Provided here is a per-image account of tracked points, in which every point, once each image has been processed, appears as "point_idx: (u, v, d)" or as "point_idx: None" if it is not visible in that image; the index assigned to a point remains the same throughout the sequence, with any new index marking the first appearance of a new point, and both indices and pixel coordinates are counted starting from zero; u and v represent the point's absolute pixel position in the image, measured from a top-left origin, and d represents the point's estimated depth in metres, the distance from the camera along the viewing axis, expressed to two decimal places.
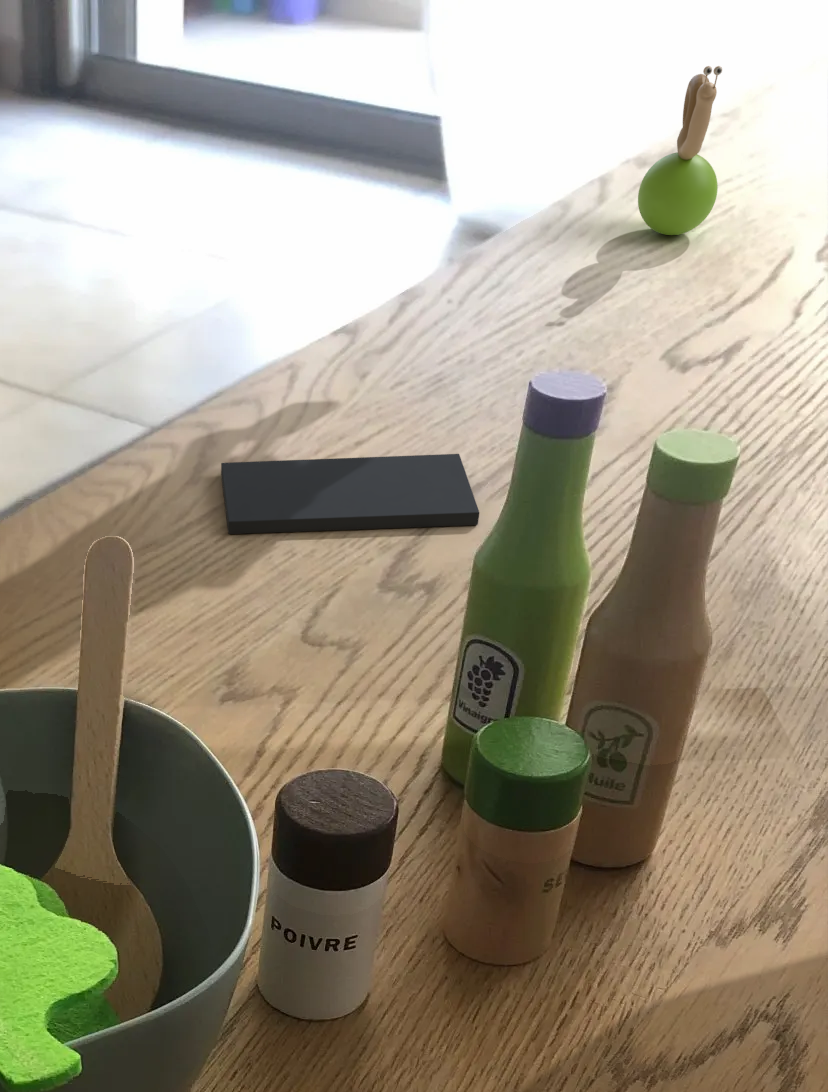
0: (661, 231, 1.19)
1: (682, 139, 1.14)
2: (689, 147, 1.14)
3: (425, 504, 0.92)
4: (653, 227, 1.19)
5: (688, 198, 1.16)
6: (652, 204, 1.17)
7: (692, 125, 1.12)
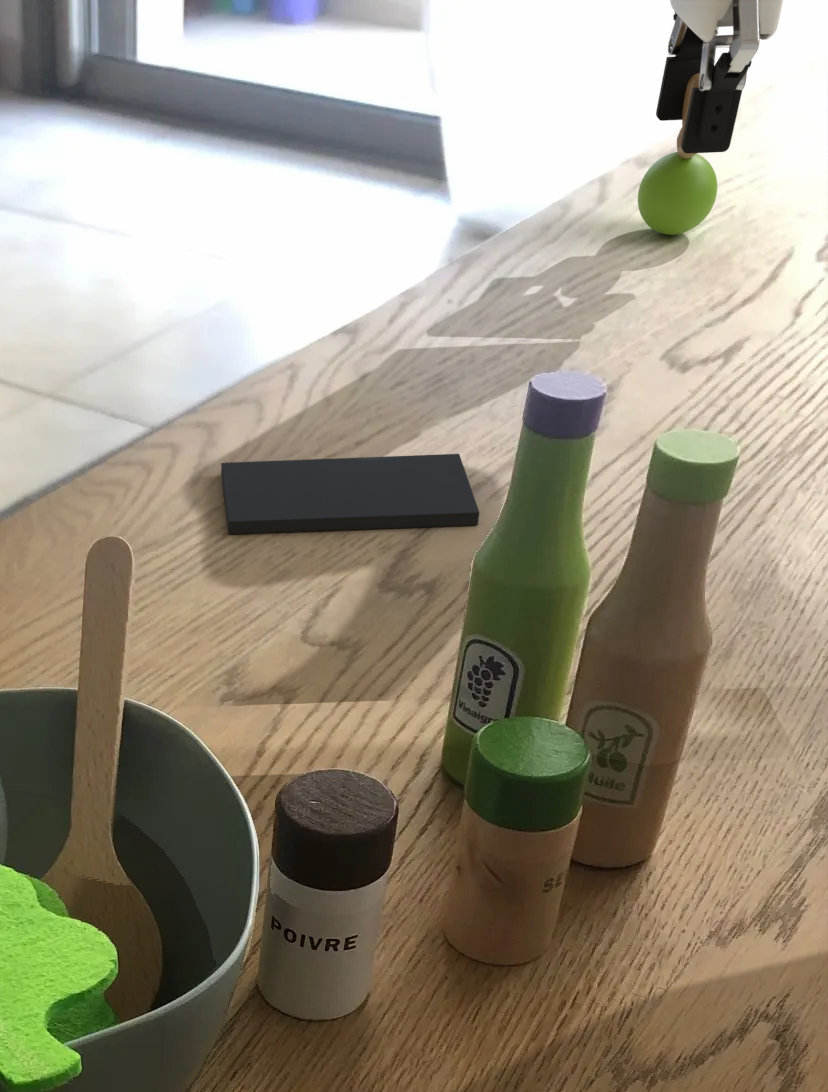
0: (661, 230, 1.19)
1: (681, 138, 1.14)
2: None
3: (425, 504, 0.92)
4: (653, 226, 1.19)
5: (688, 197, 1.16)
6: (652, 203, 1.17)
7: None
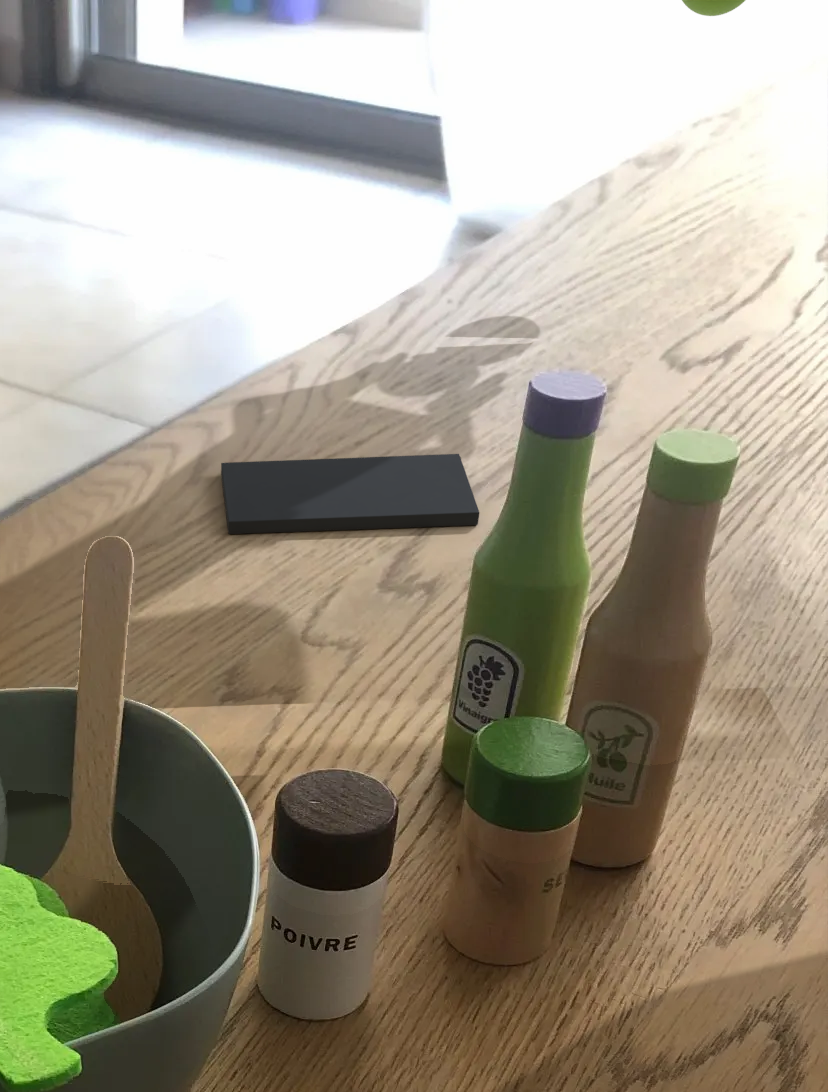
0: (728, 9, 1.08)
1: None
2: None
3: (425, 504, 0.92)
4: (723, 8, 1.08)
5: None
6: None
7: None
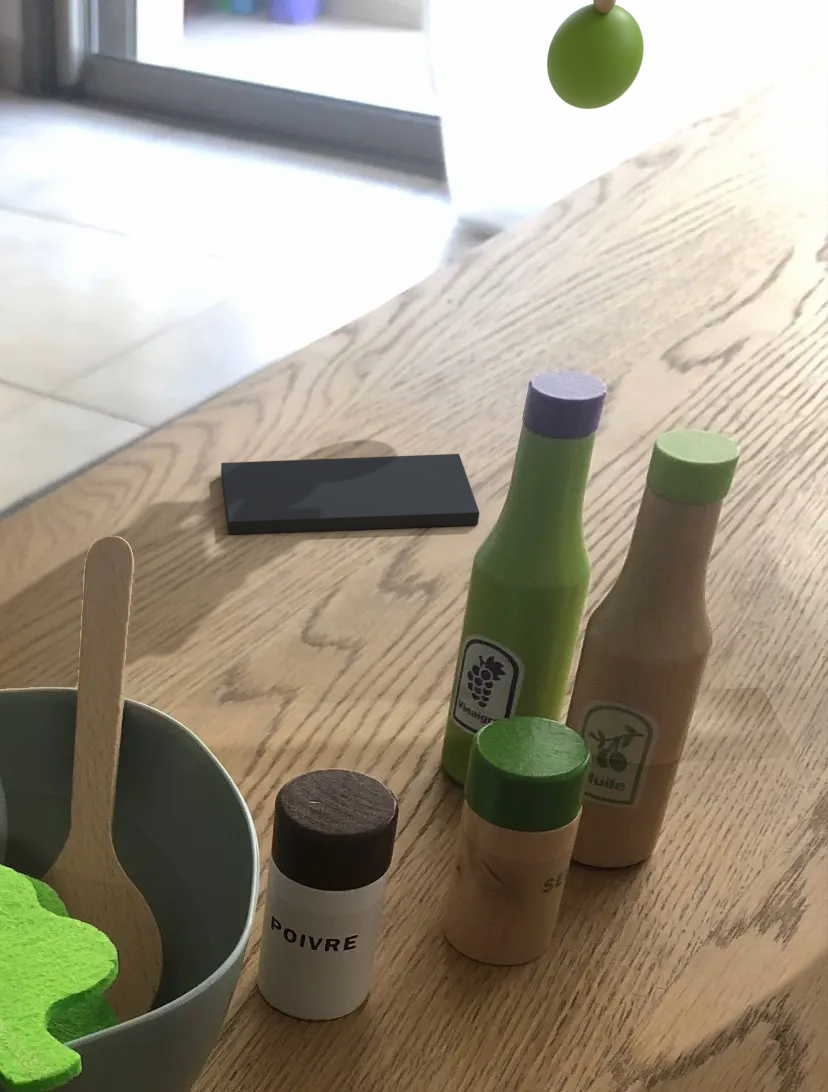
0: None
1: None
2: None
3: (425, 504, 0.92)
4: None
5: None
6: None
7: None
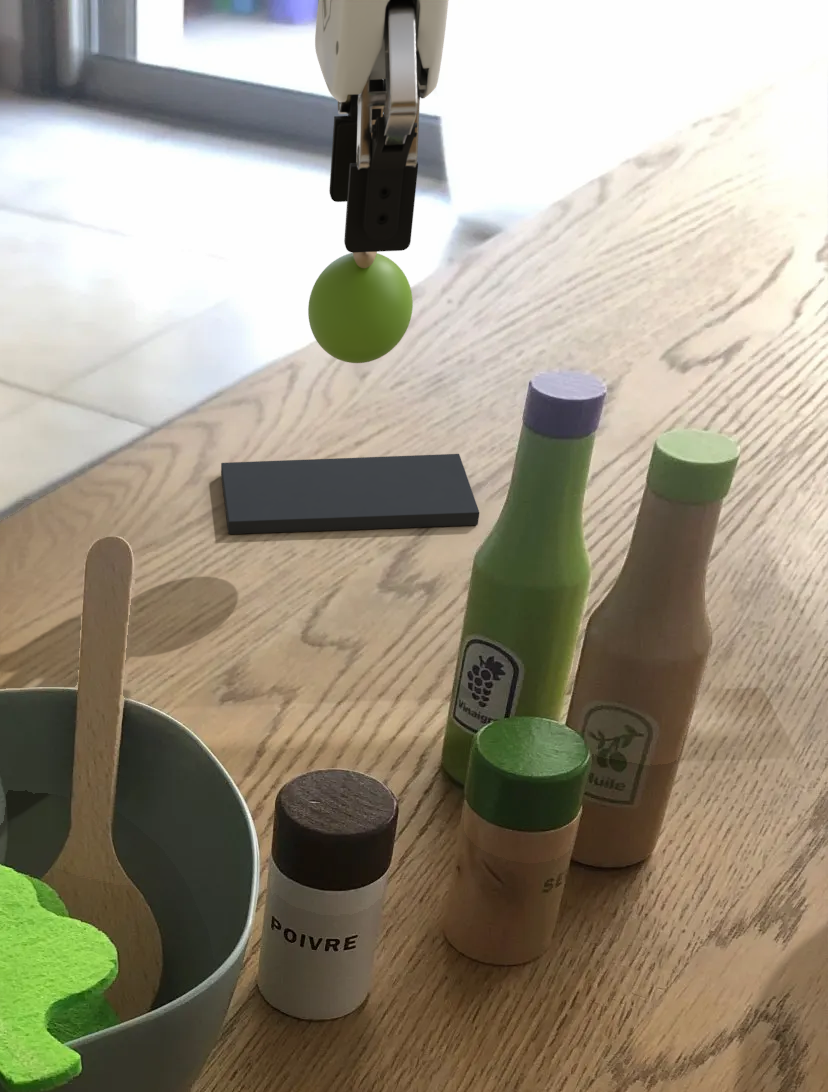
0: None
1: None
2: None
3: (425, 504, 0.92)
4: None
5: None
6: None
7: None
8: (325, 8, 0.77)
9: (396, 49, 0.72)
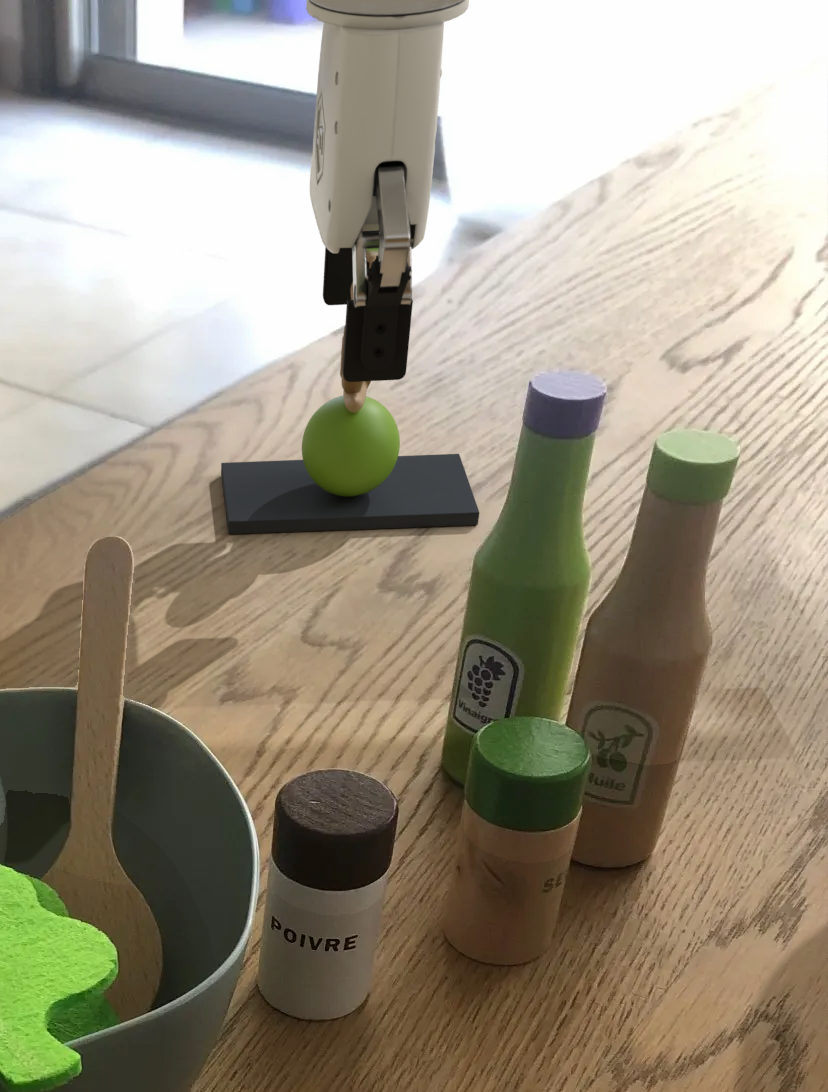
0: None
1: None
2: None
3: (425, 504, 0.92)
4: None
5: None
6: None
7: None
8: (318, 163, 0.82)
9: (387, 194, 0.76)
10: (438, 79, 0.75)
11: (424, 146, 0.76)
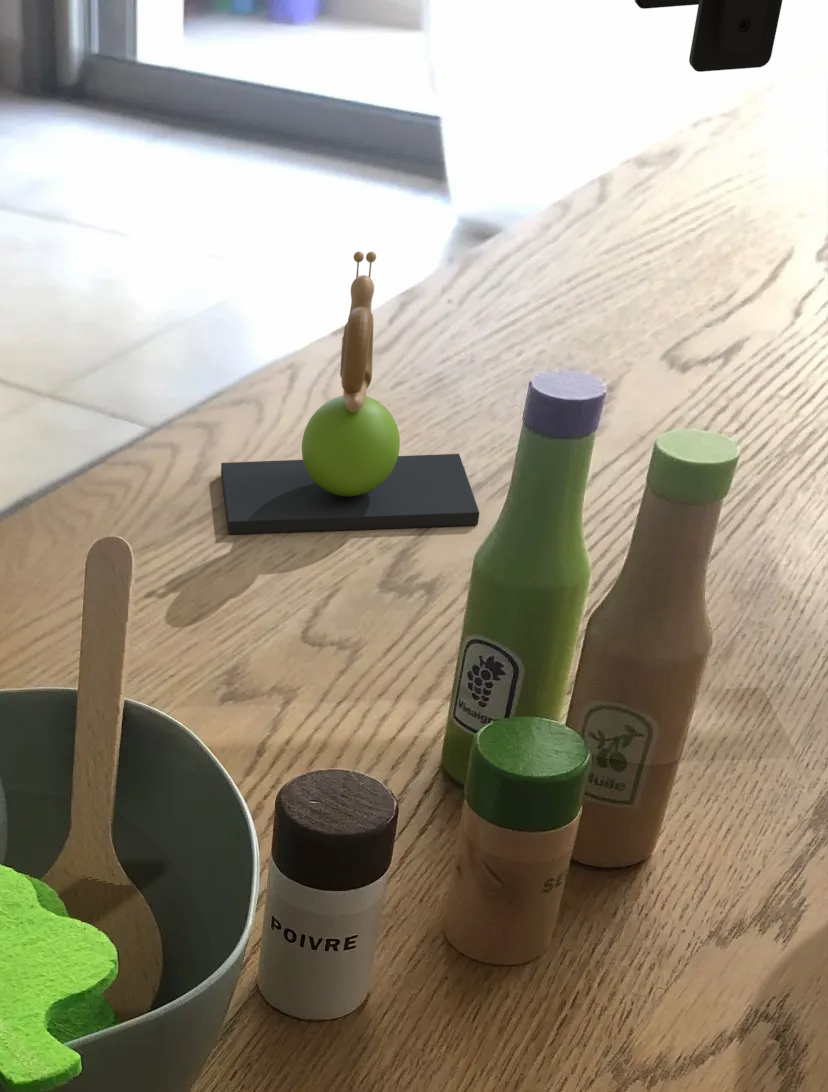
0: None
1: None
2: None
3: (425, 504, 0.92)
4: None
5: None
6: None
7: None
8: None
9: None
10: None
11: None
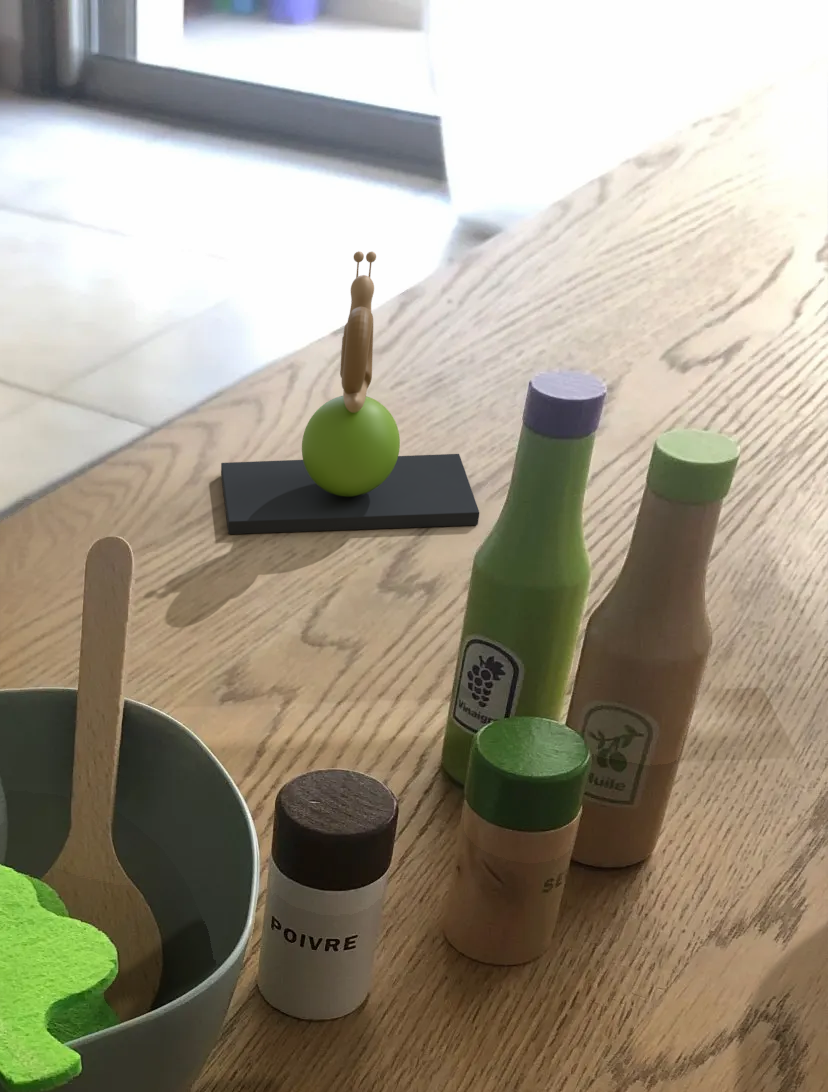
0: None
1: None
2: None
3: (425, 504, 0.92)
4: None
5: None
6: None
7: None
8: None
9: None
10: None
11: None
